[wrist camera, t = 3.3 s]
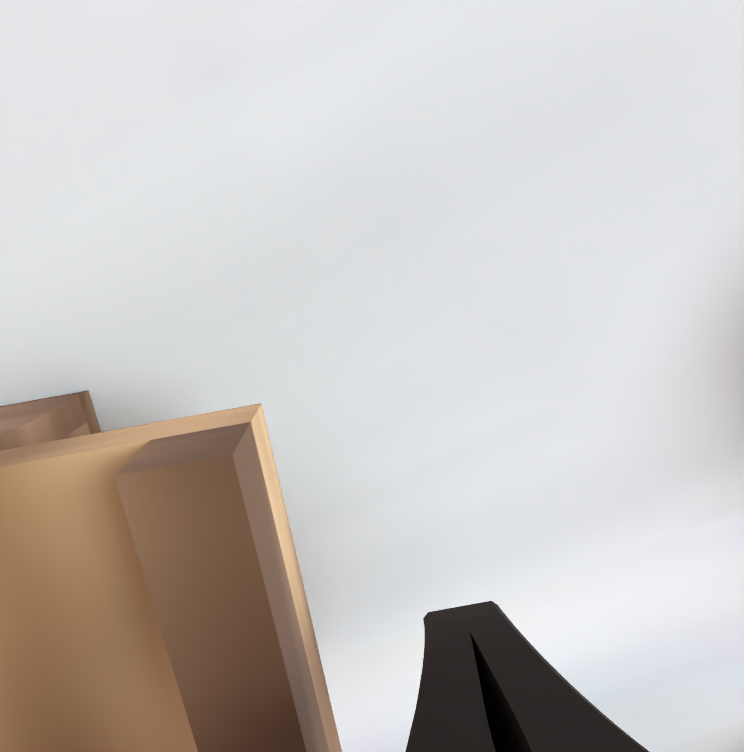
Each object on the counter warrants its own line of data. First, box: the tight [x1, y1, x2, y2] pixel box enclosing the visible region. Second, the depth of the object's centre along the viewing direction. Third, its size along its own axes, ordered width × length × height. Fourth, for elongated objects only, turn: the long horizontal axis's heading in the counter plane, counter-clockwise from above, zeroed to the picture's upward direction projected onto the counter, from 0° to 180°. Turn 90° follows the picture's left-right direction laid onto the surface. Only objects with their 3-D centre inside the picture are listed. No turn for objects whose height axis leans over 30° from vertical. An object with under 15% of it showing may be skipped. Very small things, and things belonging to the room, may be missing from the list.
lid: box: [0, 404, 342, 752], centre depth 11 cm, size 12×10×3 cm
